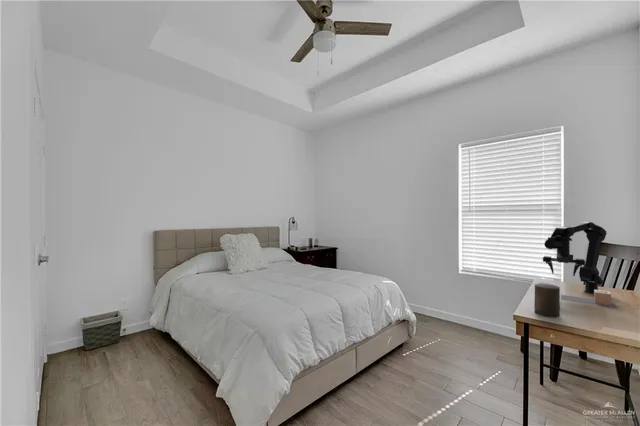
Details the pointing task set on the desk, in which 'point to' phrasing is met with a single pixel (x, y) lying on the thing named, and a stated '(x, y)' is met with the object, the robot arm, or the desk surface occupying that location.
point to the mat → (584, 300)
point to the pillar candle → (547, 300)
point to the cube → (602, 297)
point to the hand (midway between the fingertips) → (563, 275)
